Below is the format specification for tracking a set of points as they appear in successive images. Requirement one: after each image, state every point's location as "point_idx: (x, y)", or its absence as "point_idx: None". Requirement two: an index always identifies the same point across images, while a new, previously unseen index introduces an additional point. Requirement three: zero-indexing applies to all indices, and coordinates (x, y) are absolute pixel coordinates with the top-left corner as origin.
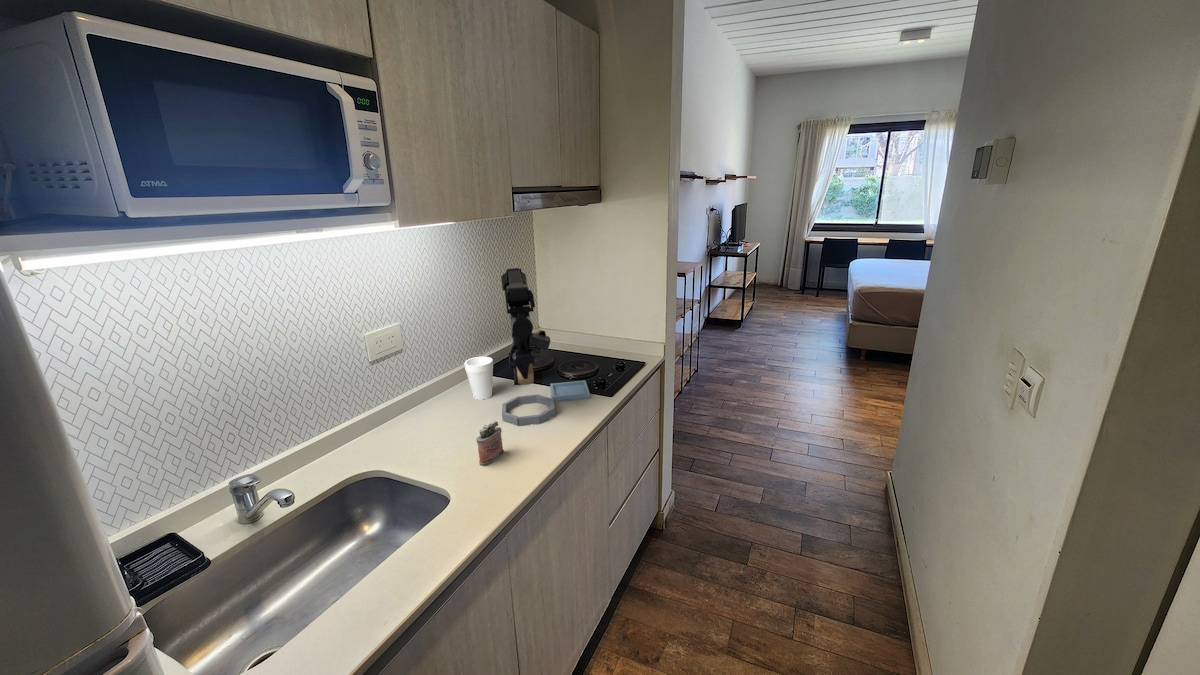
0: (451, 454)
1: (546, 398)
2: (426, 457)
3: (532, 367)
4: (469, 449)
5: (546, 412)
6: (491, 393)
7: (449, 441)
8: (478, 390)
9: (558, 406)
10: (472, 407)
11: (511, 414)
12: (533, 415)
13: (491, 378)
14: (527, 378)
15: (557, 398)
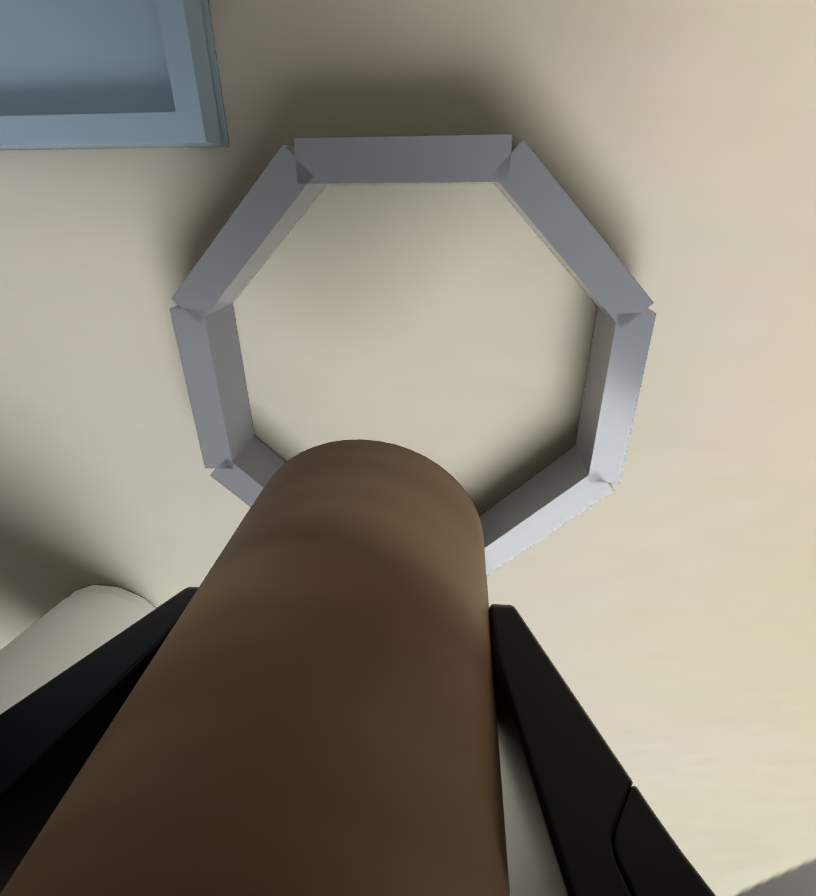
0: (767, 744)
1: (270, 216)
2: (735, 809)
3: (353, 644)
4: (763, 687)
5: (599, 237)
6: (109, 601)
7: (627, 749)
8: None
9: (330, 89)
10: None
11: (525, 522)
12: (612, 365)
13: (30, 689)
14: (486, 595)
15: (204, 83)
